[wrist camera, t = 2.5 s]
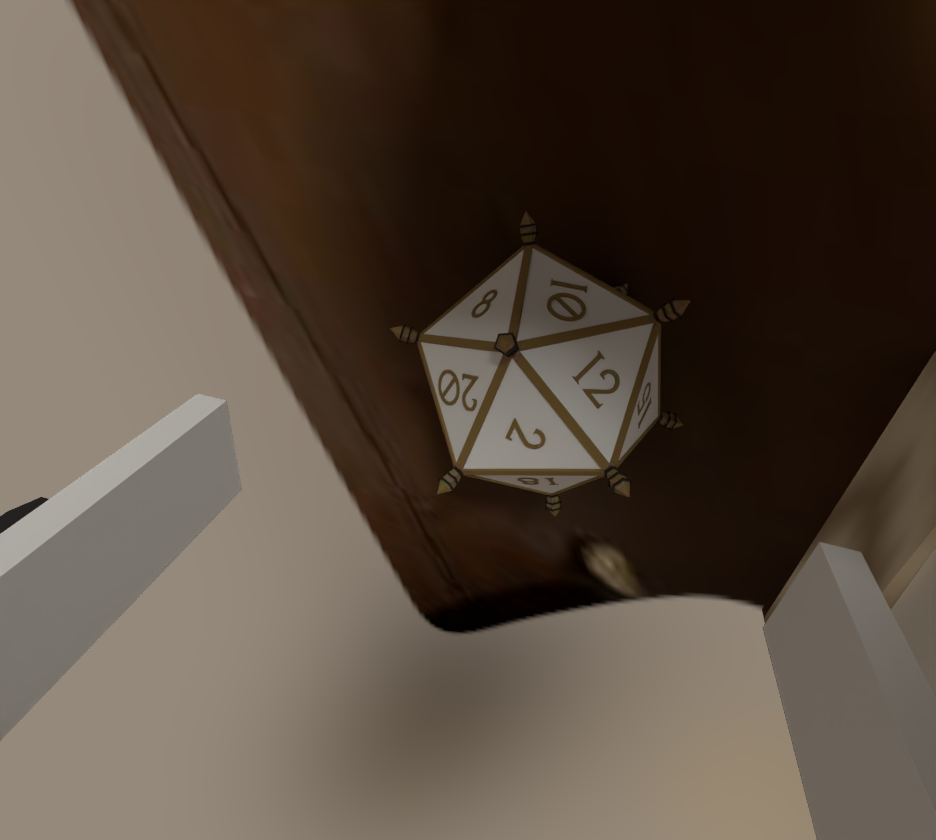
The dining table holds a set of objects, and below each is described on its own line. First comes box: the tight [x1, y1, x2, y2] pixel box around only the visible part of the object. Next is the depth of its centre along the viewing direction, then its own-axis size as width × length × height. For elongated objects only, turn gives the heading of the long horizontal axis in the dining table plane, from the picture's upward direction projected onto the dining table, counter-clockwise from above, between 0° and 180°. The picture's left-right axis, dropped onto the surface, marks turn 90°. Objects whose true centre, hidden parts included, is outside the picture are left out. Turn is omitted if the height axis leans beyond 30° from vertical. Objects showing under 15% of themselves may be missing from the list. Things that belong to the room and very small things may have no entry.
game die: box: [390, 212, 691, 517], centre depth 17 cm, size 9×8×10 cm
